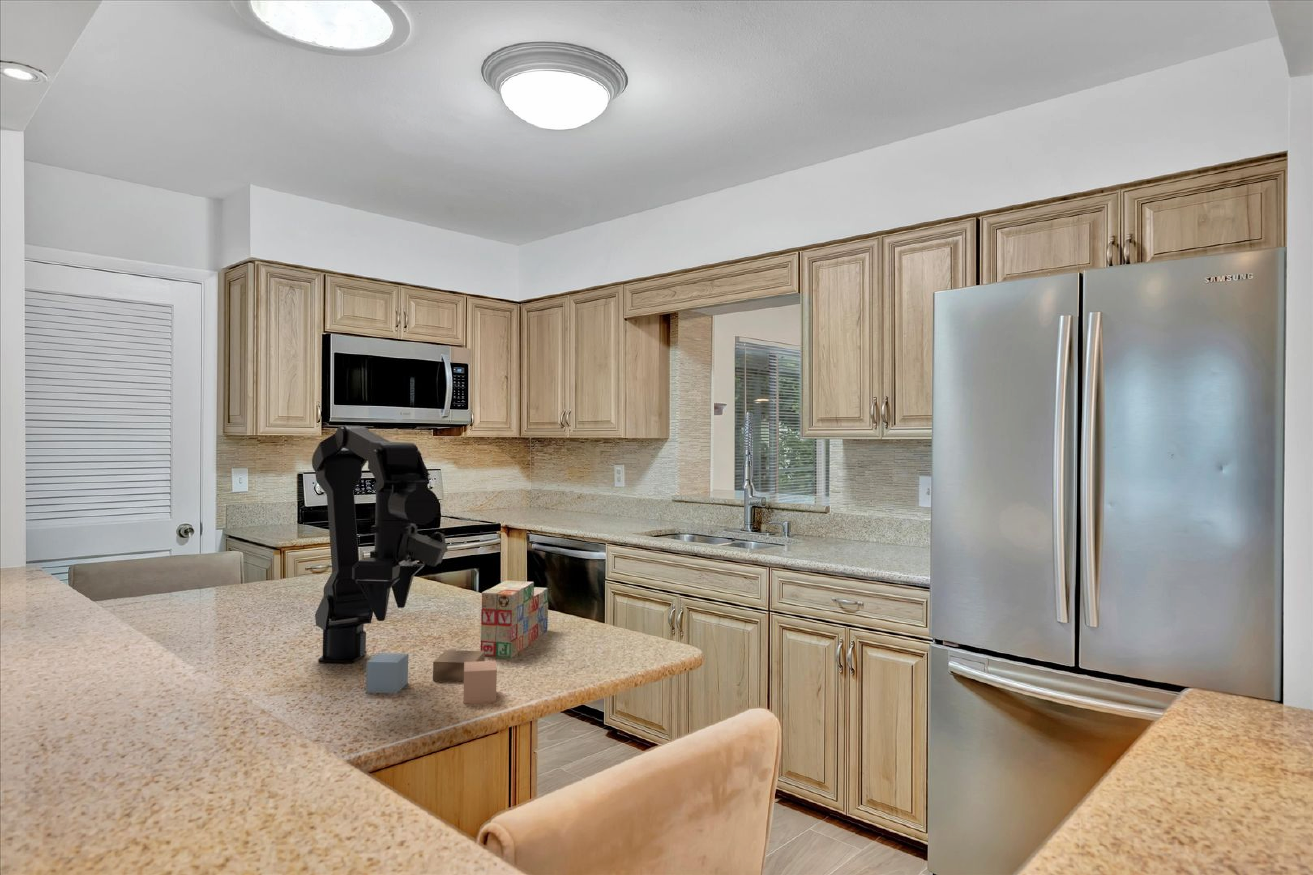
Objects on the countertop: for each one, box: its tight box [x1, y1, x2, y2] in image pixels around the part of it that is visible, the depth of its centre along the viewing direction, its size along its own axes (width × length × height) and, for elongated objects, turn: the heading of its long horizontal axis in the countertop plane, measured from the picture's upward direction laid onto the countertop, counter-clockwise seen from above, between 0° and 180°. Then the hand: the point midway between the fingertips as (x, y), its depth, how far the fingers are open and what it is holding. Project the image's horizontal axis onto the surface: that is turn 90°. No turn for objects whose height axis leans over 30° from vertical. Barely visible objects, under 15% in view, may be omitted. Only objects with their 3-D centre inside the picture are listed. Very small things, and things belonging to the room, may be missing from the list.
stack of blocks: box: [480, 580, 549, 659], centre depth 152 cm, size 21×6×12 cm, turn 169°
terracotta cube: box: [462, 660, 498, 704], centre depth 120 cm, size 5×5×5 cm
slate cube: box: [365, 652, 409, 694], centre depth 123 cm, size 5×5×5 cm
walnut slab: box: [432, 649, 486, 683], centre depth 131 cm, size 7×7×4 cm
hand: (391, 613), depth 123 cm, fingers open, 9 cm apart
